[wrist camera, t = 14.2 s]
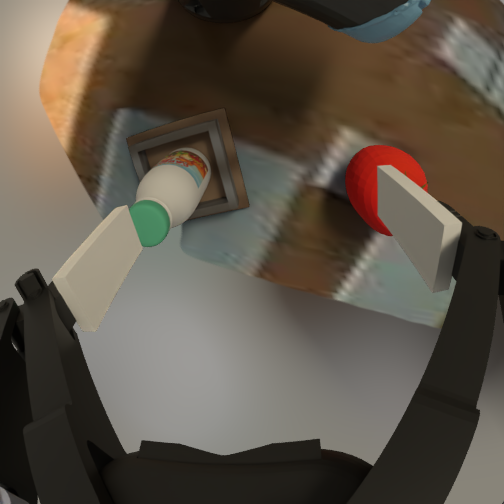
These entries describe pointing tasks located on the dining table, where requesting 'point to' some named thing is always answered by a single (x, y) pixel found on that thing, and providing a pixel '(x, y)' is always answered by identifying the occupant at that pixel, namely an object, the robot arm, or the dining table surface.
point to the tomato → (366, 183)
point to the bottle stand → (210, 145)
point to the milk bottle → (169, 194)
